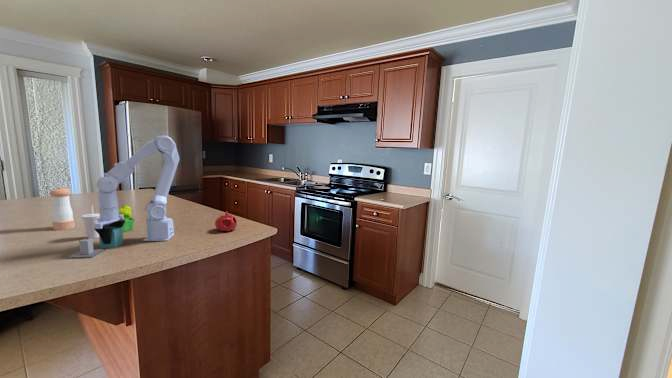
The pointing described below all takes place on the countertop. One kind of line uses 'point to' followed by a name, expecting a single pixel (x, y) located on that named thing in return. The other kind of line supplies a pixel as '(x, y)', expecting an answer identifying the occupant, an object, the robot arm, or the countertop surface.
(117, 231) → the teal foam brick
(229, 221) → the pomegranate
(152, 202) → the robot arm
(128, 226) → the fruit basket
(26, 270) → the countertop surface
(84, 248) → the grey square base plate
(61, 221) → the salt shaker
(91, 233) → the smoothie
